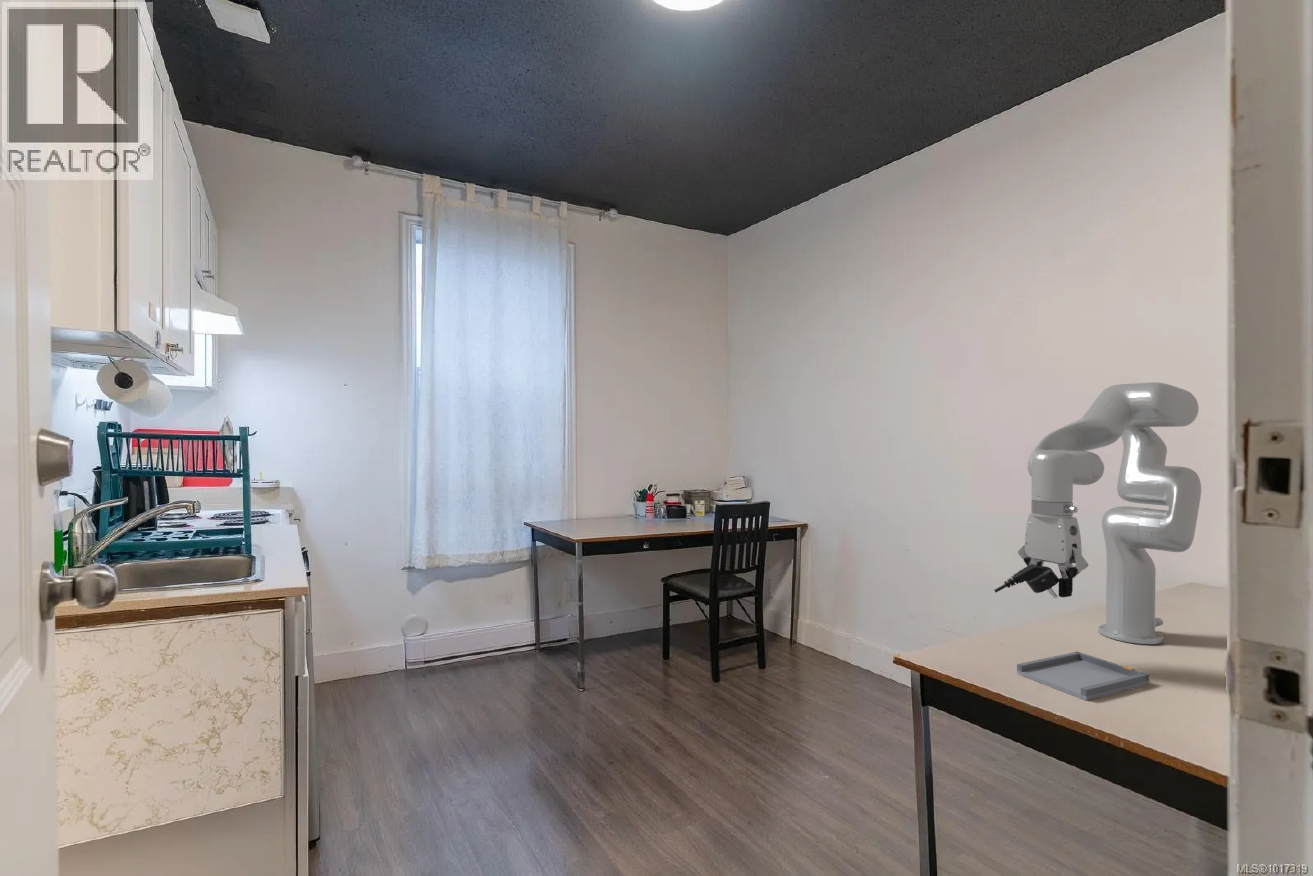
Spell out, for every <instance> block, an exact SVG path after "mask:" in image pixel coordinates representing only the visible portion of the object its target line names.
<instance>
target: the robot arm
mask: <svg viewBox="0 0 1313 876" xmlns="http://www.w3.org/2000/svg"><path fill="white" fill-rule="evenodd" d="M1198 414H1199V402H1198V400H1197V398H1196V397H1195V395H1194V394H1193V393H1192V392H1190V391H1188V390H1187V389H1183V388H1181V387H1178V386H1174V385H1172V384H1168V383H1164V382H1163V383H1162V382H1140V383H1139V382H1137V383H1122V384H1121V383H1120V384H1115V385H1114V384H1113V385H1111V386H1108V387H1107V388H1106V387H1105V389H1104V390H1103V391H1101V393H1100V394H1099V395H1098V396H1097V398H1096V399H1095V400H1094V401H1093V403H1092V404H1091V406H1089V408H1088V410H1087V411H1086V412H1085V413H1084V414H1083V416H1082V417H1081V418H1080V419H1078V420H1075V421H1073V422H1070V423H1068V424H1066V425H1064V426H1062V427H1060V428H1058V429H1056V430H1054V431H1051V432H1050V433H1048V434H1047V435H1046V436H1044V437H1043V438H1042V439H1041V440H1040V441H1039V442H1038V444H1037V445H1036V446H1035V448H1034V449H1033V450H1032V452H1031V453H1030V456H1029V457H1028V461H1027V471H1028V474H1029V476H1030V477H1031V503H1030V504H1031V506H1030V507H1031V511H1030V513H1029V514H1028V517H1027V522H1026V528H1025V533H1024V534H1025V535H1024V536H1025V537H1024V544H1023V545H1022V547H1021V548H1019V550H1018V551H1017V554H1018V556H1020V558H1021V559H1022V560H1023V562H1024V563H1025V565H1026V567H1027V566H1029V565H1031V564H1034V565H1039V566H1044V564H1045V562H1046V563H1051V564H1055V565H1057V566H1058V570H1059V572H1060V576H1061V577H1060V578H1059V577H1058V578H1059V582H1058V597H1060V598H1068V597H1069V598H1070V597H1072V595H1073V589H1074V588H1073V585H1074V584H1073V583H1074V582H1073V579H1075V578H1076V576H1077V575H1078V574H1079V573H1081V572H1082V571H1083V570H1085V569H1087V568H1088V567H1089V563H1088V561H1087V560H1086V559H1085V558H1084V557H1083V553H1082V551H1083V548H1082V539H1081V536H1082V535H1081V531H1080V527H1079V522H1078V519H1077V517H1076V516H1074V514H1076V513H1078V509H1079V508H1078V507H1077V506H1075V505H1074V502H1073V501H1074V496H1073V495H1074V494H1073V493H1074V490H1073V488H1074V486H1075V485H1077V486H1089V485H1093V484H1095V483H1098V481H1099V480H1101V479H1102V477H1103V475H1104V473H1105V463H1104V461H1103V460H1102V458H1101V457H1100V456H1099V455H1098V454H1097V453H1095V452H1091V451H1092V450H1096V449H1100V448H1104V447H1107V446H1110V445H1113V444H1115V443H1116V442H1117V441H1119V439H1120V437H1121V439H1122V445H1123V449H1122V451H1123V452H1122V458H1121V462H1120V466H1119V467H1120V468H1119V473H1118V478H1117V487H1116V490H1117V495H1118V496H1119V498H1120V499H1122V500H1124V501H1126V502H1130V503H1134V504H1145V505H1155V506H1163V507H1164V506H1166V507H1168V509H1167V510H1166V509H1155V508H1149V507H1137V506H1124V505H1123V506H1115V507H1111V508H1109V509H1108V510H1107V511H1105V512H1104V514H1103V517H1102V520H1101V527H1102V532H1103V536H1104V537H1103V538H1104V544H1105V550H1106V551H1105V552H1106V554H1105V555H1106V584H1105V585H1106V586H1105V587H1106V589H1105V590H1106V592H1105V593H1106V600H1105V601H1106V604H1105V605H1106V607H1105V610H1106V612H1105V613H1106V614H1105V615H1106V618H1105V624H1104V623H1103V624H1100V625H1099V626H1098V632H1099V634H1101V635H1102V636H1104V637H1106V638H1109V639H1113V640H1116V641H1120V642H1125V643H1130V644H1139V645H1159V644H1162V643H1163V642H1164V636H1163V635H1162V634H1161V633H1159V632H1158V631H1156V627H1160V626H1163V624H1164V620H1163V619H1162V618H1161V617H1156V574H1157V571H1156V565H1155V563H1154V562H1155V561H1153V558H1152V557H1151V556H1150V554H1149V552H1148V551H1146V550H1147V549H1148V550H1156V551H1164V552H1171V553H1183V552H1186V551H1188V550H1189V549H1190V548H1191V546H1192V544H1193V542H1194V539H1195V535H1196V528H1197V522H1198V516H1199V515H1198V514H1199V509H1200V503H1201V499H1202V498H1201V497H1202V482H1201V479H1200V476H1199V474H1198V473H1197V472H1196V471H1194V470H1193V469H1191V468H1189V467H1185V466H1176V465H1173V466H1172V465H1166V459H1167V454H1168V449H1167V445H1166V444H1165V442H1164V440H1163V439H1162V438H1161V436H1160V435H1159V434H1157V432H1156V431H1154V430H1153V429H1152V428H1158V427H1160V428H1162V427H1163V428H1164V427H1165V428H1173V427H1174V428H1175V427H1177V428H1178V427H1187V426H1189V425H1191V424H1193V423H1194V421H1195V420H1196V419H1197V417H1198ZM1073 564H1075V565H1073Z"/></svg>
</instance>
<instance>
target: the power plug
mask: <svg viewBox="0 0 1313 876" xmlns="http://www.w3.org/2000/svg"><path fill="white" fill-rule="evenodd" d="M1025 582H1026V584H1027V585H1028V586H1029V588H1030V590H1032V591H1033V592H1034V593H1035V594H1041V593H1043V592H1045V591H1047V592H1048V593H1049V595H1051V596H1052V597H1053V598H1054V599H1057V598H1058V595H1057V594H1056V592H1055V591H1054V590H1053V587H1054V586H1056V585H1057V584H1059V577H1058V576H1057V575H1056V573H1055V571H1053V569H1052V568H1051V567H1049V566H1044V565H1043V566H1039V565H1034V564H1031V565H1029V566H1027V565H1026V566H1025V567H1024V568H1022V569H1021V570H1020V569H1019V570H1018V571H1017V572H1016V573H1014V574H1012V576H1011V577H1009V578H1008V579H1007V580H1005V581H1004V582H1003V583H1004V584H1002V585H1001V586H998V587H997V588H995V589H994V590H993V591H994V593H998V592H1000V591H1002V590H1003V589H1005V588H1011V587H1014V586H1017V585H1019V584H1022V583H1025ZM1016 584H1017V585H1016Z"/></svg>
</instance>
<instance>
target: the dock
mask: <svg viewBox="0 0 1313 876" xmlns="http://www.w3.org/2000/svg"><path fill="white" fill-rule="evenodd" d="M1017 673H1019V674H1021V675H1022V677H1024V678H1027V679H1029V678H1031V679H1030V680H1032V681H1034V682H1037V683H1039V682H1040V684H1042V685H1044V686H1047V687H1050V688H1052V689H1055V690H1058V691H1060V692H1063V693H1065V694H1068V695H1070V696H1073V697H1075V698H1079V699H1081V700H1083V701H1086V702H1087V701H1091V700H1095V699H1099V698H1102V697H1106V696H1109V695H1115V694H1117V693H1122V692H1126V691H1129V690H1134V689H1136V688H1140V687H1141V688H1142V687H1145V686H1148V685H1150V674H1148V673H1145V672H1142V671H1139V670H1137V669H1134V667H1131V666H1128V665H1121V664H1117V663H1114V662H1111V661H1108V660H1105V659H1103V658H1099V657H1095V656H1092V655H1090V654H1087V653H1083V652H1079V651H1073V652H1068V653H1065V654H1064V653H1063V654H1059V655H1054V656H1049V657H1044V658H1040V659H1035V660H1030V661H1027V662H1022V663H1017V664H1016V674H1017ZM1019 674H1018V675H1019ZM1021 675H1020V676H1021Z"/></svg>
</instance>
